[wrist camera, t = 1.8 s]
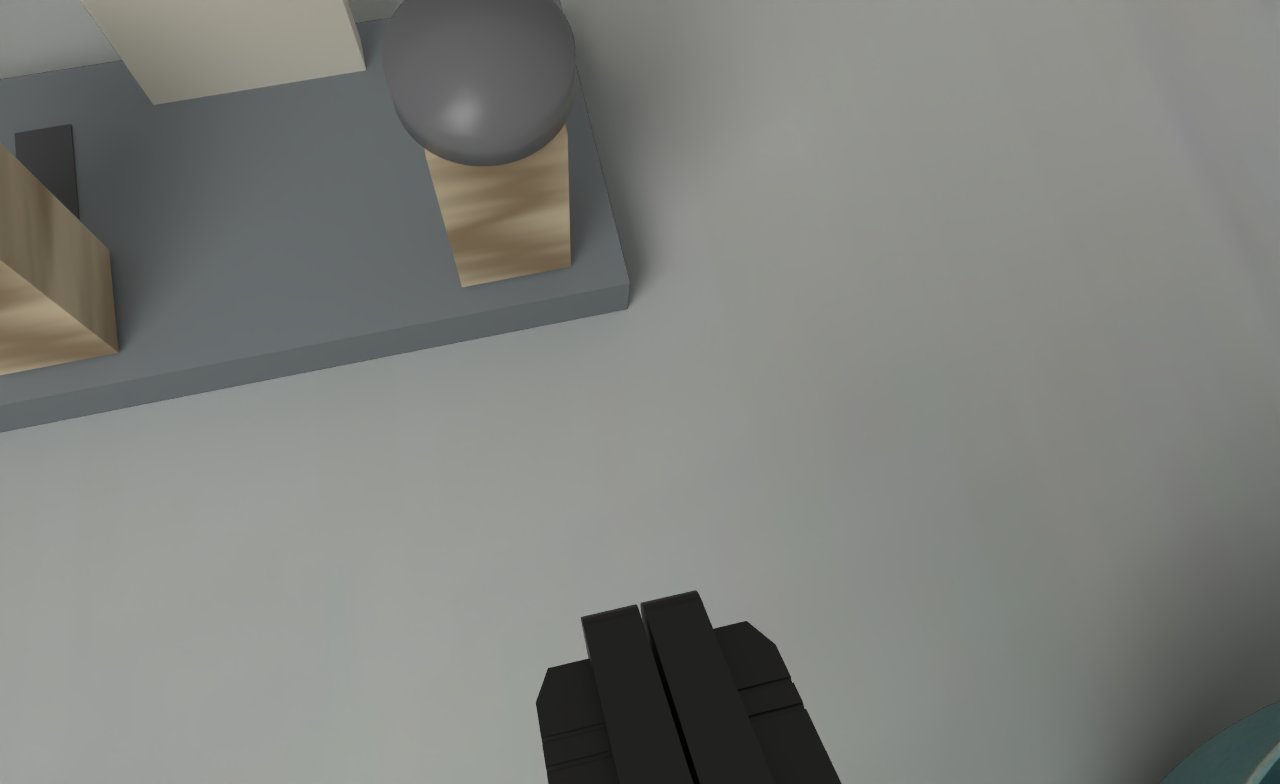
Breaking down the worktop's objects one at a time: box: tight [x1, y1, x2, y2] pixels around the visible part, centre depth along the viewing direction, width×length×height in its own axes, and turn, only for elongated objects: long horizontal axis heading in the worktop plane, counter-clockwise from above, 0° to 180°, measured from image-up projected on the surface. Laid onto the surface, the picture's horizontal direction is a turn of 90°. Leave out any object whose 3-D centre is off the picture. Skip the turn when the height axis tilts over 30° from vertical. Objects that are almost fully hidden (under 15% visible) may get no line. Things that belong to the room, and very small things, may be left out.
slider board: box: [0, 0, 630, 432], centre depth 36 cm, size 24×13×10 cm, turn 103°
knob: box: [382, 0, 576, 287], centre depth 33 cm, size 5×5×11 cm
